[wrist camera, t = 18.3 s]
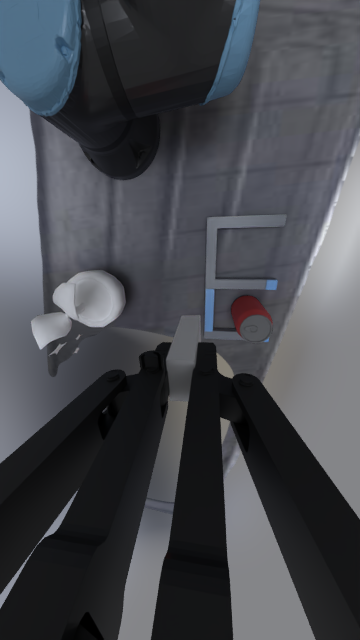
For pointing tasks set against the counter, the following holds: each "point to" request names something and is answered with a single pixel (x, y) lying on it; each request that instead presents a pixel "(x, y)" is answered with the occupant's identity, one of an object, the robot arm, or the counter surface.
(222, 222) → the duct comb
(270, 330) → the beer can
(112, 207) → the counter surface
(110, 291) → the potted plant
